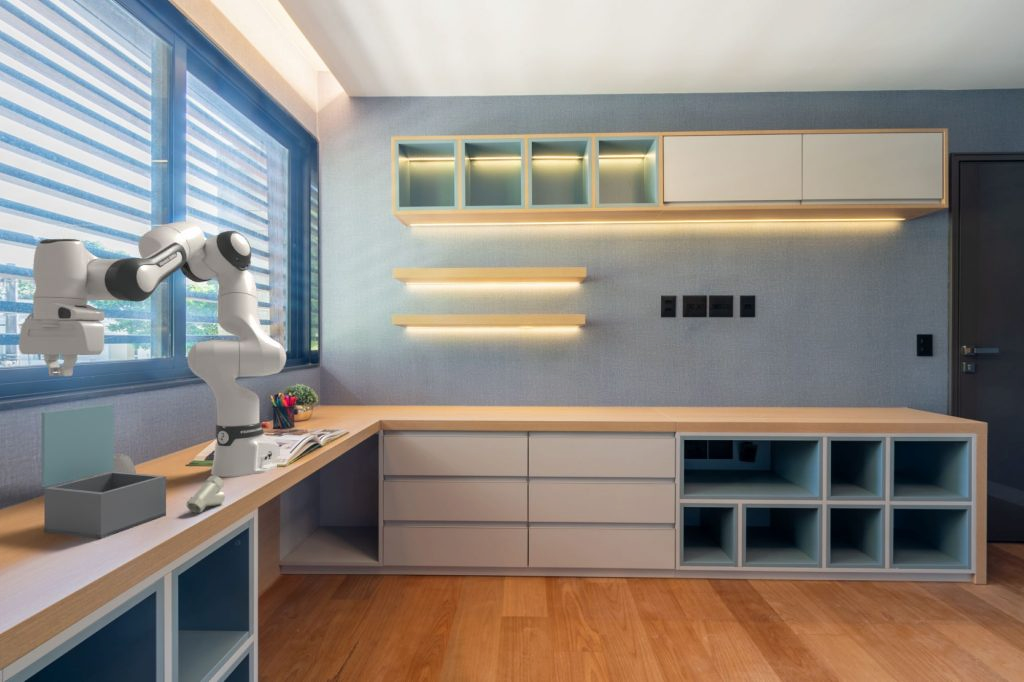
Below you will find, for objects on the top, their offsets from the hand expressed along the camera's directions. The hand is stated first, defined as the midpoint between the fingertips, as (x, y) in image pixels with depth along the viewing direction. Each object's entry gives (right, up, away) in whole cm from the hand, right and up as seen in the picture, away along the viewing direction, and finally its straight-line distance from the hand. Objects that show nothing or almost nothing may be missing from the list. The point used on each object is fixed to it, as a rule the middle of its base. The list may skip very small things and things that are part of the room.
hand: (60, 375), depth 113 cm
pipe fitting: (+29, -32, +8) cm, 44 cm away
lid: (+6, -14, -2) cm, 15 cm away
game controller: (-6, -31, +20) cm, 38 cm away
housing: (+13, -31, -3) cm, 34 cm away
